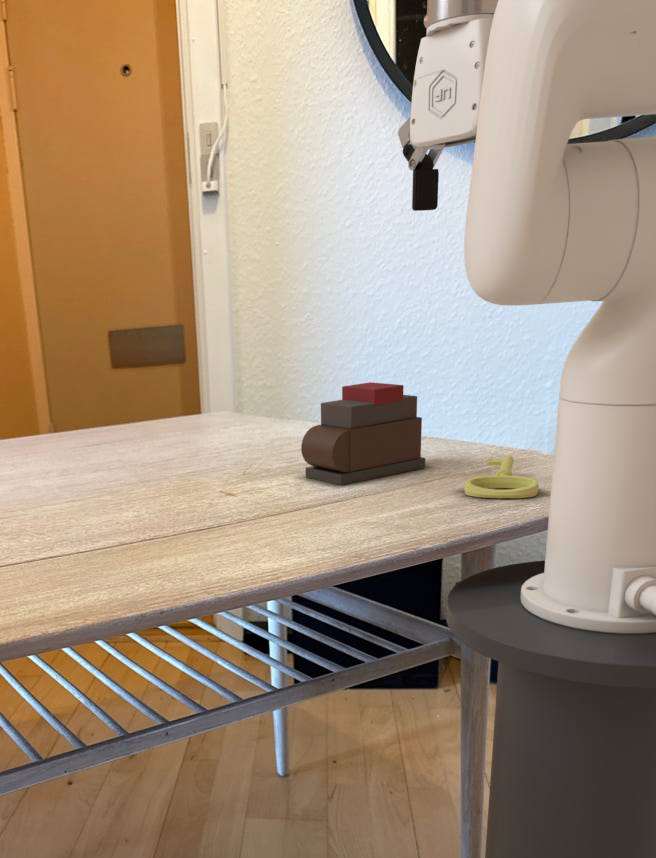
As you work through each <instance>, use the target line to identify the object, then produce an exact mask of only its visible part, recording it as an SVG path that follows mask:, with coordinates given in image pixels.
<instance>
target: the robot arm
mask: <svg viewBox="0 0 656 858" xmlns="http://www.w3.org/2000/svg"><path fill="white" fill-rule="evenodd" d="M426 1H427V2H426V3H427V4H426V9H427V10H426V15H424V18H423V25H424V28H425V29H426V34H425V35H426V36H424V37H422V38H420V43H419V47H418V51H417V56H416V63H415V69H414V75H413V82H412V91H411V92H412V93H411V105H410V117H408V119H407V120H406V121H405V122H404V123H403V124H402V125H401V126H400V127H399V128H398V131H397V136H398V138H399V142H400V145H401V148H402V155H403V157H404V158H405V159H406V161H407V162H408V164H407V165H408V166H407V167H408V169H409V170H410V171H412V190H411V191H412V193H411V194H412V195H411V196H412V197H411V202H412V203H411V209H412V210H413V211H414V212H419V211H420V212H421V211H435V210H436V209H437V208H438V205H439V204H438V203H439V180H440V179H439V178H440V173H439V168H435V166H436V164H437V162H438V160H439V159H440V156H441V154H442V153H443V151H444V149H445V148H451V147H456V146H457V147H458V146H463V145H467V144H471V143H474V150H473V151H474V152H473V158H472V167H471V173H470V174H471V175H470V182H469V190H468V197H467V198H468V199H467V205H466V207H467V208H466V214H465V215H466V216H465V226H464V240H463V252H464V253H463V254H464V256H463V257H464V267H465V273H466V277H467V280H468V283H469V285H470V287H471V289H472V291H473V292H474V293H475V294H476V296H477V297H479V298H480V299H482V300H483V301H485V302H487V303H490V304H493V305H499V306H533V305H546V304H547V305H548V304H561V303H574V302H588V301H590V302H601V303H600V305H599V307H598V308H597V310H596V311H595V312H594V314H593V315H592V317H591V318H590V319H589V321H588V322H587V323H586V324H585V327H584V328H583V329H582V331H580V333H579V335H578V336H577V338H576V340H575V341H574V343H573V344H572V345H571V348H570V350H569V351H568V353H567V355H566V358H565V361H564V363H563V366H562V371H561V374H560V375H561V376H560V383H559V392H558V404H557V413H556V414H557V415H556V426H555V438H554V439H555V440H554V450H553V463H552V476H551V485H550V499H549V509H548V510H549V511H548V523H547V533H546V547H545V559H544V561H545V569H544V573H541V574H539V575H536V576H533V577H532V578H530V579H528V580H527V581H526V582H525V583H524V584H523V585H522V588H521V597H520V598H521V603H522V605H523V606H524V607H525V608H526V609H527V610H528V611H529V612H531V613H532V614H534V615H536V616H538V617H540V618H542V619H544V620H547V621H549V622H552V623H555V624H559V625H562V626H566V627H570V628H575V629H581V630H586V631H593V632H602V633H615V634H648V633H656V136H645V137H631V138H630V137H629V138H617V139H616V138H615V139H608V140H606V141H605V140H604V141H591V142H576V143H569V141H570V137H571V134H572V132H573V130H574V128H575V127H576V125H577V124H578V123H579V122H580V121H583V120H584V121H585V120H593V119H607V118H608V119H609V118H621V117H634V116H649V115H656V0H426ZM428 150H429V151H428Z"/></svg>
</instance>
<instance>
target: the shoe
mask: <svg viewBox="0 0 656 858" xmlns="http://www.w3.org/2000/svg"><path fill="white" fill-rule="evenodd" d="M422 422H423V417H421V416H417V417H416V418H411V419H405V420H400V421H394V422H388V423H383V424H377V425H371V426H366V427H360V428H354V429H348V428H341V427H335V426H328V425H322V424H321V423H320V424H317V425H314V426H312V427H310V428H309V429H308V430H307V431H306V432H305V434H304V436H303V438H302V440H301V446H300V450H301V456H302V459H303V460H304V461H305V462H306V463H307V464H308V465H309V466H306V467H305V478H308V479H313V480H317V481H321V482H325V483H329V484H334V485H339V486H344V485H349V484H353V483H360V482H363V481H367V480H368V481H369V480H373V479H377V478H383V477H386V476H391V475H392V476H393V475H397V474H402V473H407V472H411V471H416V470H420V469H424V468H426V458H425V457H423V456H421V455H422V429H423V428H422V424H423V423H422Z"/></svg>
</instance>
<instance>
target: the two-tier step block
mask: <svg viewBox="0 0 656 858" xmlns="http://www.w3.org/2000/svg"><path fill="white" fill-rule="evenodd" d="M417 415H418V396H417V395H411V394H404V384H394V383H382V382H371V381H370V382H364V383H356V384H351V385H343V386H342V387H341V399H338V400H331V401H326V402H321V403H320V425H321V424H322V425H328V426H335V427H341V428H348V429H354V428H360V427H366V426H371V425H377V424H383V423H388V422H394V421H400V420H405V419H411V418H416V417H418V416H417Z"/></svg>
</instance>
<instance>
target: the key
mask: <svg viewBox="0 0 656 858" xmlns="http://www.w3.org/2000/svg"><path fill="white" fill-rule="evenodd" d="M513 465H514V458H513V456H512V455H505V456H504V457H502V458H488V461H487V466H499V467H500V468H499V470H497V471H496V472H495V473H494V475H480V476H474V477H470V478H468V479H466V481H465V483H464V487H463V491H464V494H465V495H466V496H469V497H474V498H482V499H483V498H484V499H485V498H488V499H526V498H533V497H536V496H537V495H538V493H539V489H540V487H539V481H538V480H537V479H536V478H532V477H528V476H521V475H514V474H513V473H512V469H513Z"/></svg>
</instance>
